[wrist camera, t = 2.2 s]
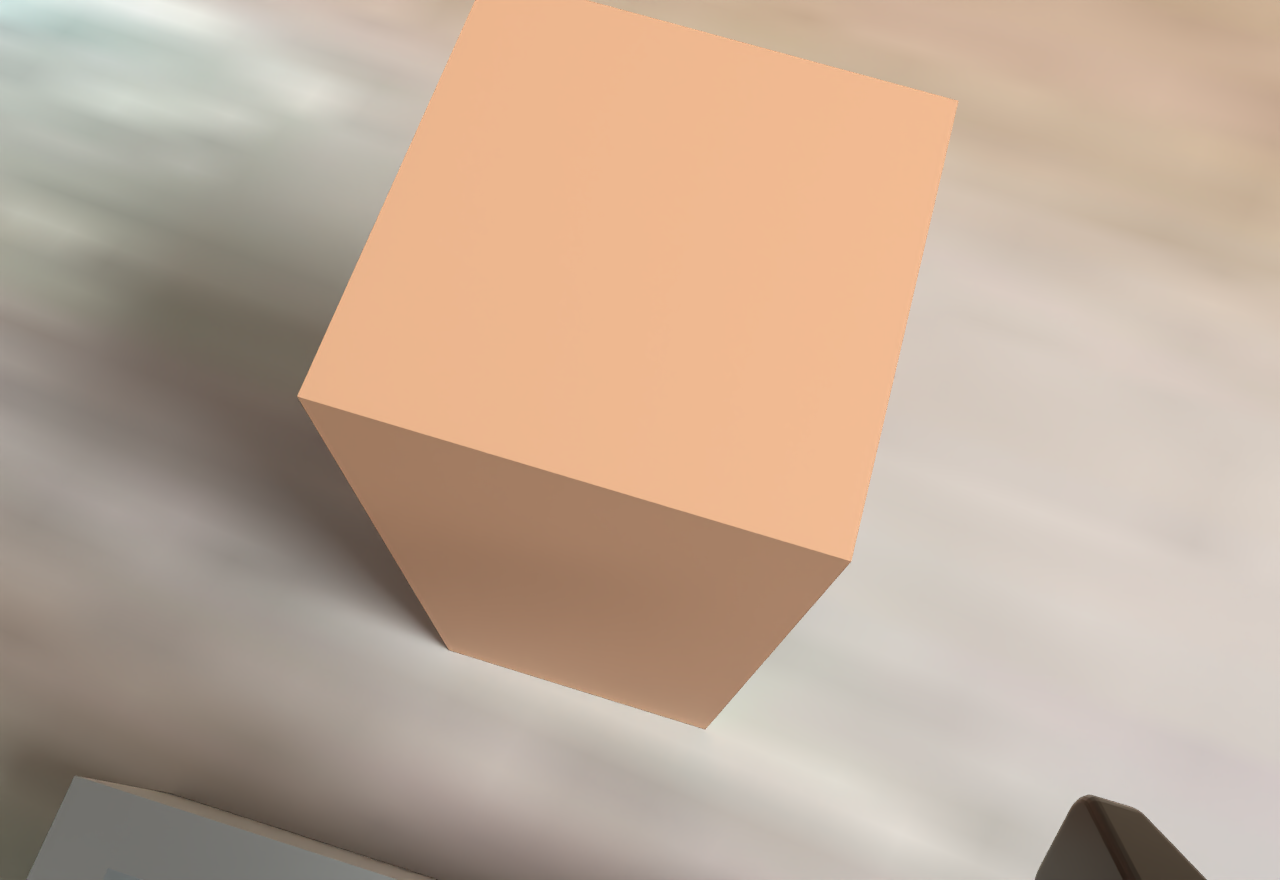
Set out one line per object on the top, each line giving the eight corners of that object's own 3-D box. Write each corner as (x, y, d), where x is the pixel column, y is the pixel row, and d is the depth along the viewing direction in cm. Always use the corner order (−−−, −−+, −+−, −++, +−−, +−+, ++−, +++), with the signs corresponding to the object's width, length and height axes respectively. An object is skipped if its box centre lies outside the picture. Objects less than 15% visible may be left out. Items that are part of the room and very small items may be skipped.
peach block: (704, 728, 21) (850, 561, 9) (448, 650, 21) (298, 396, 10) (770, 485, 22) (958, 100, 11) (533, 414, 23) (487, -27, 12)
